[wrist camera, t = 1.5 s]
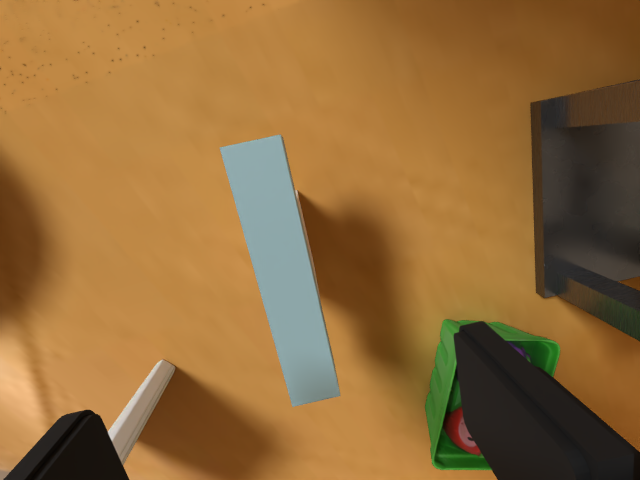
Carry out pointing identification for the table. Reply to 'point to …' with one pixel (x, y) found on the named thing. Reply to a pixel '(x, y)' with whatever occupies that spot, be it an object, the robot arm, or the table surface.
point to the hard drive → (139, 409)
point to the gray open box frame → (589, 201)
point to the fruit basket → (445, 401)
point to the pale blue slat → (283, 265)
